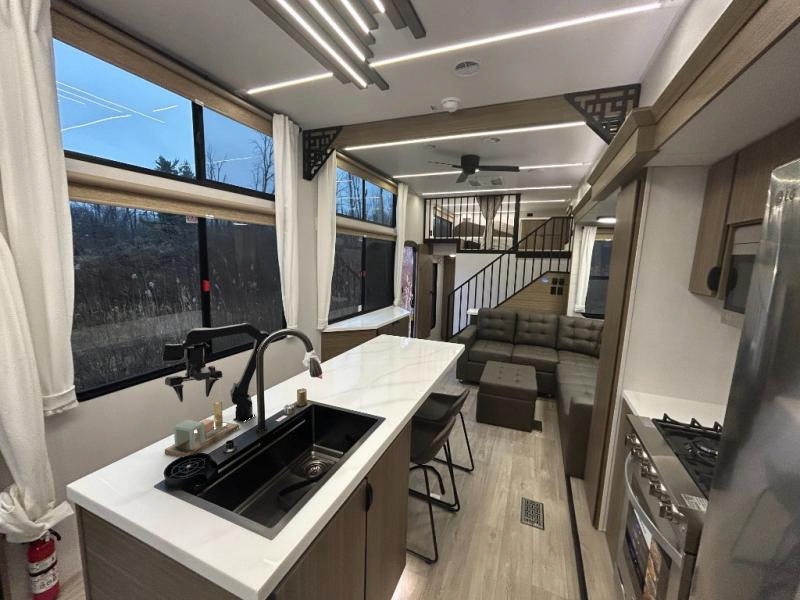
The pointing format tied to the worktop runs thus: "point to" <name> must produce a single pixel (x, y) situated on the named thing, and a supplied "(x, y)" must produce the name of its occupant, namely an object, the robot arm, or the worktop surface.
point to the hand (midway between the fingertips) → (194, 399)
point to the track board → (185, 447)
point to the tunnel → (188, 432)
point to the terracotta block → (207, 425)
